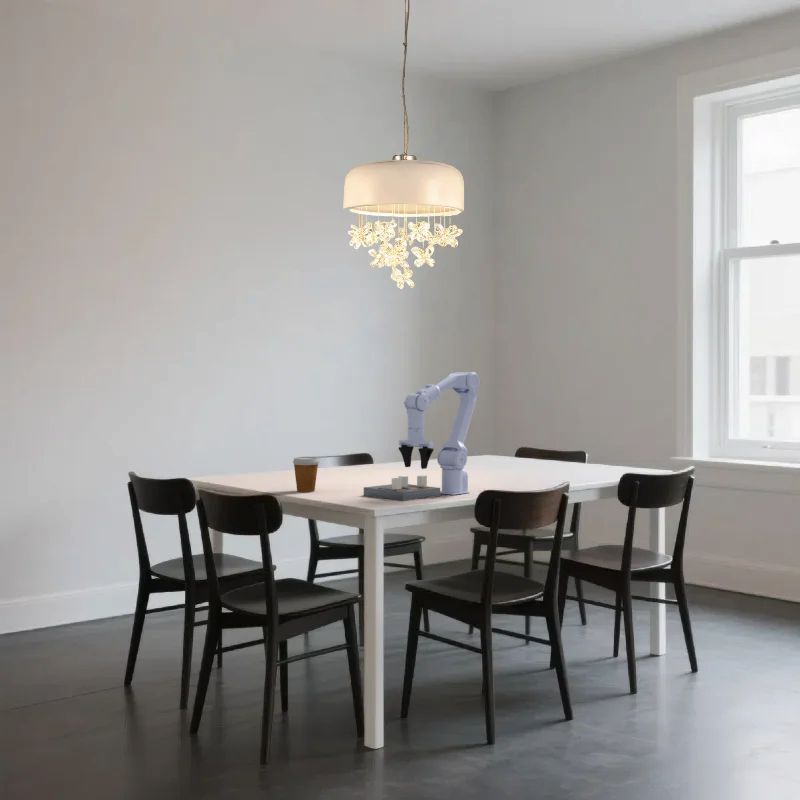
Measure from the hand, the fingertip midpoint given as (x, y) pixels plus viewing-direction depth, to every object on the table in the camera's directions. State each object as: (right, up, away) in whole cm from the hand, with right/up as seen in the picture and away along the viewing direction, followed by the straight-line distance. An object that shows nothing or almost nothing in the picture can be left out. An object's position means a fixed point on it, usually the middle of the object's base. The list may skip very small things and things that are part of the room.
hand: (415, 467), depth 360 cm
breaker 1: (-7, -7, -2) cm, 10 cm away
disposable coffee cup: (-39, -10, +15) cm, 43 cm away
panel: (-5, -10, +5) cm, 12 cm away
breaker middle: (-4, -7, +4) cm, 9 cm away
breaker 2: (+2, -7, +7) cm, 10 cm away
